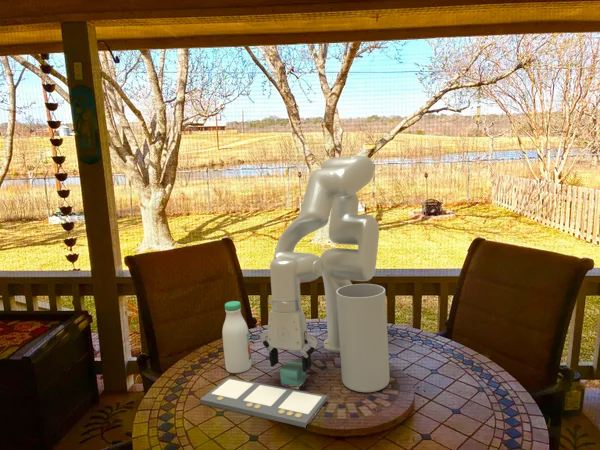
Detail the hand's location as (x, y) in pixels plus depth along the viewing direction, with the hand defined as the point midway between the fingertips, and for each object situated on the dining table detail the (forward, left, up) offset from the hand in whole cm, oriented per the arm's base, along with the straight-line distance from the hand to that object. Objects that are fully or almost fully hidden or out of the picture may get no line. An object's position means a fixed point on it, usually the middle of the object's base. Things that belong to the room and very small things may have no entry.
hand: (290, 367), depth 116 cm
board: (+10, -3, -5) cm, 12 cm away
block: (-1, 0, -5) cm, 5 cm away
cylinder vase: (-8, +18, -5) cm, 20 cm away
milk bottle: (-4, -20, -5) cm, 21 cm away
